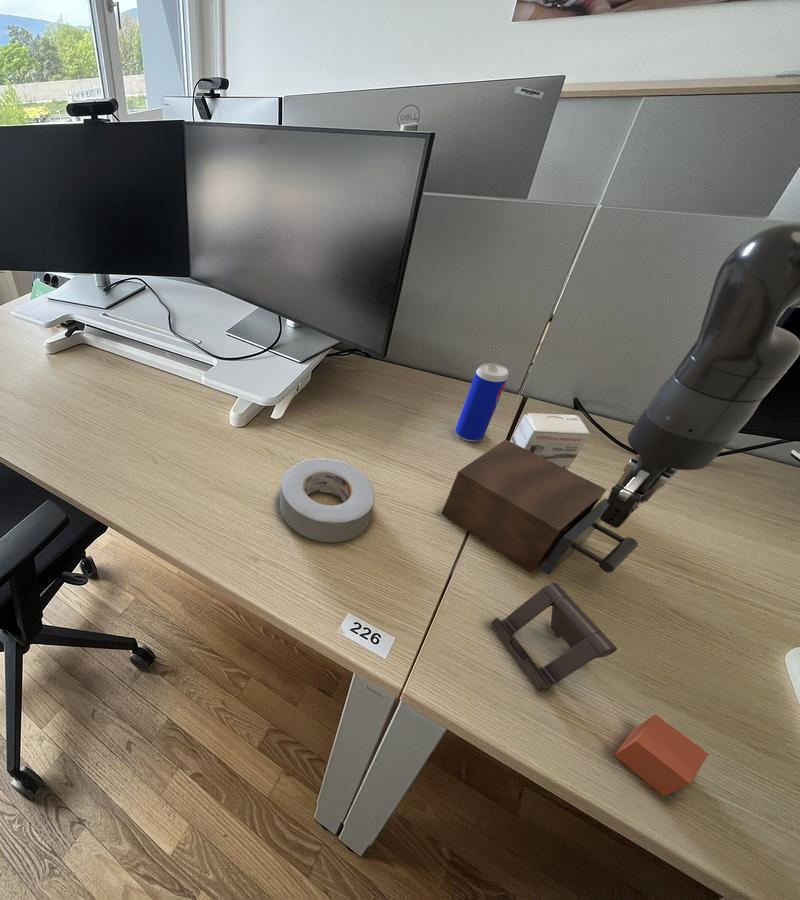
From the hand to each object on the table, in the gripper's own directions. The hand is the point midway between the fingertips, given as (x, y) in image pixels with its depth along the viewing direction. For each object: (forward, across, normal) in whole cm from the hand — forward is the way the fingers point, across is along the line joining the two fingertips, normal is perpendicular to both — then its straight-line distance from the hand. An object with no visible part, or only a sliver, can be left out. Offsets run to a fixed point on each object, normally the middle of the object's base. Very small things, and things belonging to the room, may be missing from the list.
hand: (610, 521), depth 62 cm
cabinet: (+10, 0, +10) cm, 15 cm away
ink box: (+10, +14, +14) cm, 23 cm away
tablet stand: (+10, -17, -4) cm, 20 cm away
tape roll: (+10, -21, +30) cm, 38 cm away
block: (+10, -20, -16) cm, 28 cm away
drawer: (+9, 0, +6) cm, 11 cm away
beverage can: (+10, +16, +27) cm, 33 cm away
